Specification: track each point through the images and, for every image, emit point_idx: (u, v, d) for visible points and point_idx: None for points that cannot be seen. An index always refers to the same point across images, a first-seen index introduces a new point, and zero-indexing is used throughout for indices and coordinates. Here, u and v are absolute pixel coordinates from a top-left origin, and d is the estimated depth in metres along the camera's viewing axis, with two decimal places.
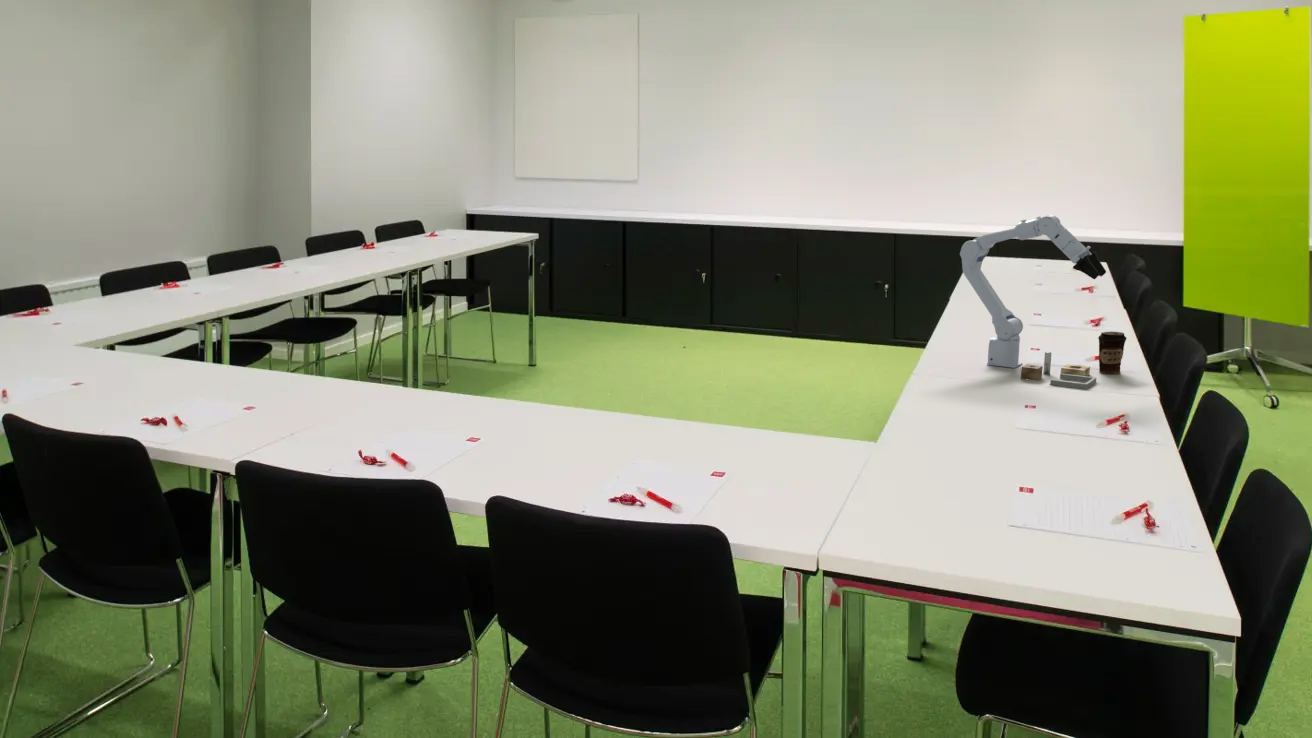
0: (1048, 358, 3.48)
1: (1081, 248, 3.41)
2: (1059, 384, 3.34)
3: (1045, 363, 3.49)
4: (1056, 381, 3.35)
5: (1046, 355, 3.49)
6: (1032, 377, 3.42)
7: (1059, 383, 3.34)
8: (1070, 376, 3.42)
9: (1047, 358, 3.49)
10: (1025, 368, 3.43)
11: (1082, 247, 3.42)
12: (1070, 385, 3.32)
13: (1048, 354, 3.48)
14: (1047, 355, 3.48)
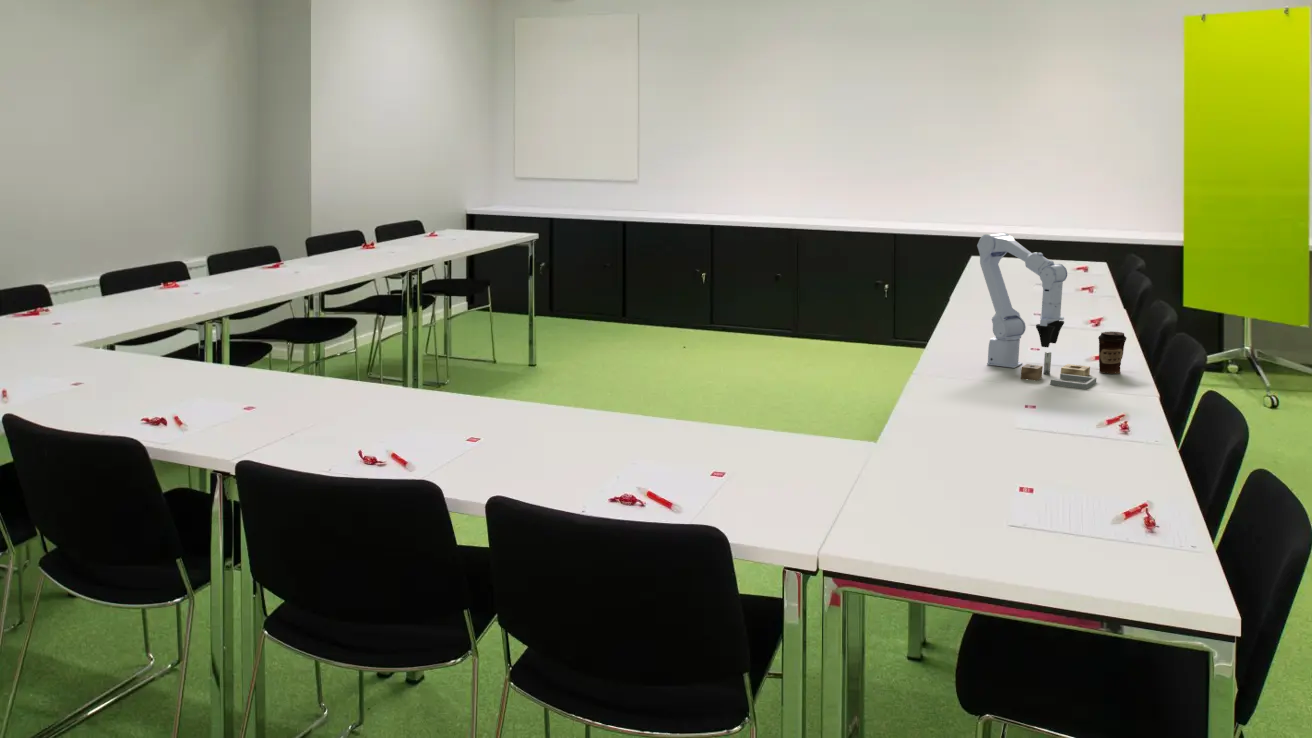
0: (1048, 358, 3.48)
1: (1056, 315, 3.44)
2: (1059, 384, 3.34)
3: (1045, 363, 3.49)
4: (1056, 381, 3.35)
5: (1046, 355, 3.49)
6: (1032, 377, 3.42)
7: (1059, 383, 3.34)
8: (1070, 376, 3.42)
9: (1047, 358, 3.49)
10: (1025, 368, 3.43)
11: (1058, 315, 3.44)
12: (1070, 385, 3.32)
13: (1048, 354, 3.48)
14: (1047, 355, 3.48)
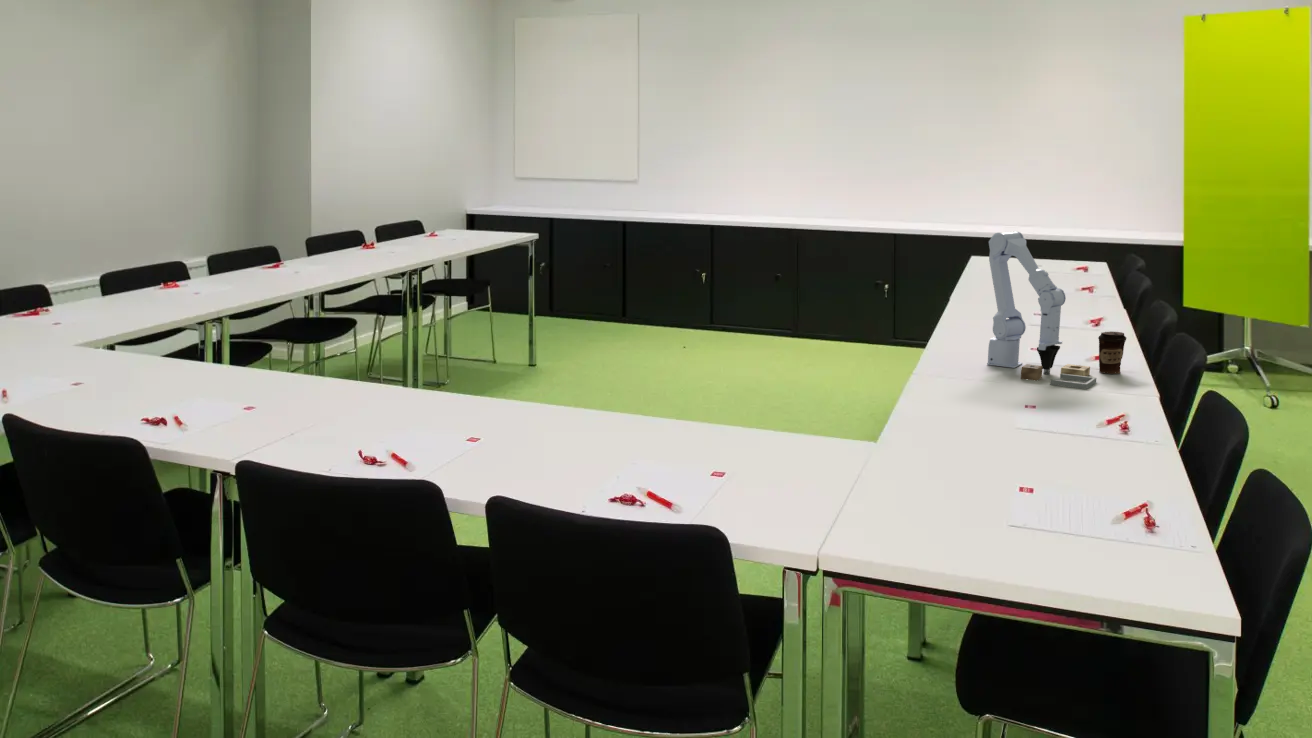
0: None
1: (1054, 339, 3.45)
2: (1059, 384, 3.34)
3: None
4: (1056, 381, 3.35)
5: None
6: (1032, 377, 3.42)
7: (1059, 383, 3.34)
8: (1070, 376, 3.42)
9: None
10: (1025, 368, 3.43)
11: (1056, 339, 3.46)
12: (1070, 385, 3.32)
13: None
14: None
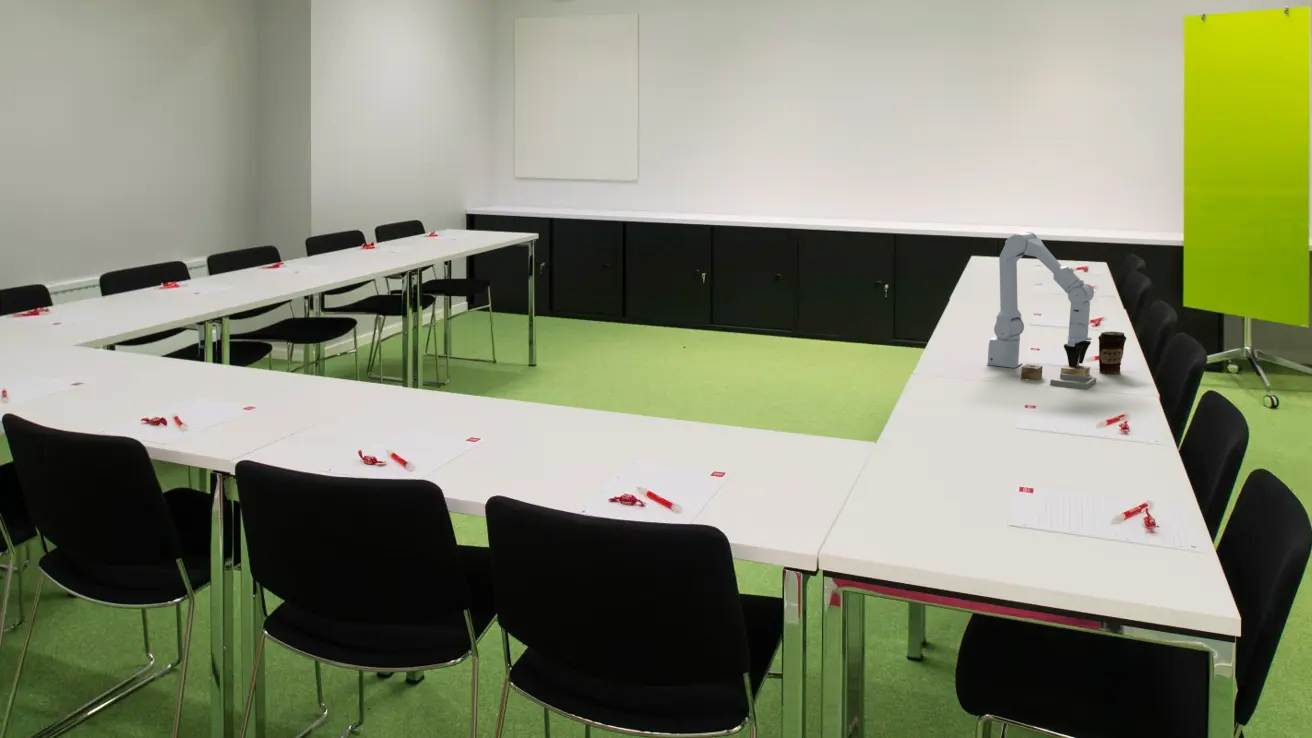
0: None
1: (1084, 335, 3.43)
2: (1059, 384, 3.34)
3: None
4: (1056, 381, 3.35)
5: None
6: (1032, 377, 3.42)
7: (1059, 383, 3.34)
8: (1070, 376, 3.42)
9: None
10: (1025, 368, 3.43)
11: (1085, 335, 3.43)
12: (1070, 385, 3.32)
13: None
14: None
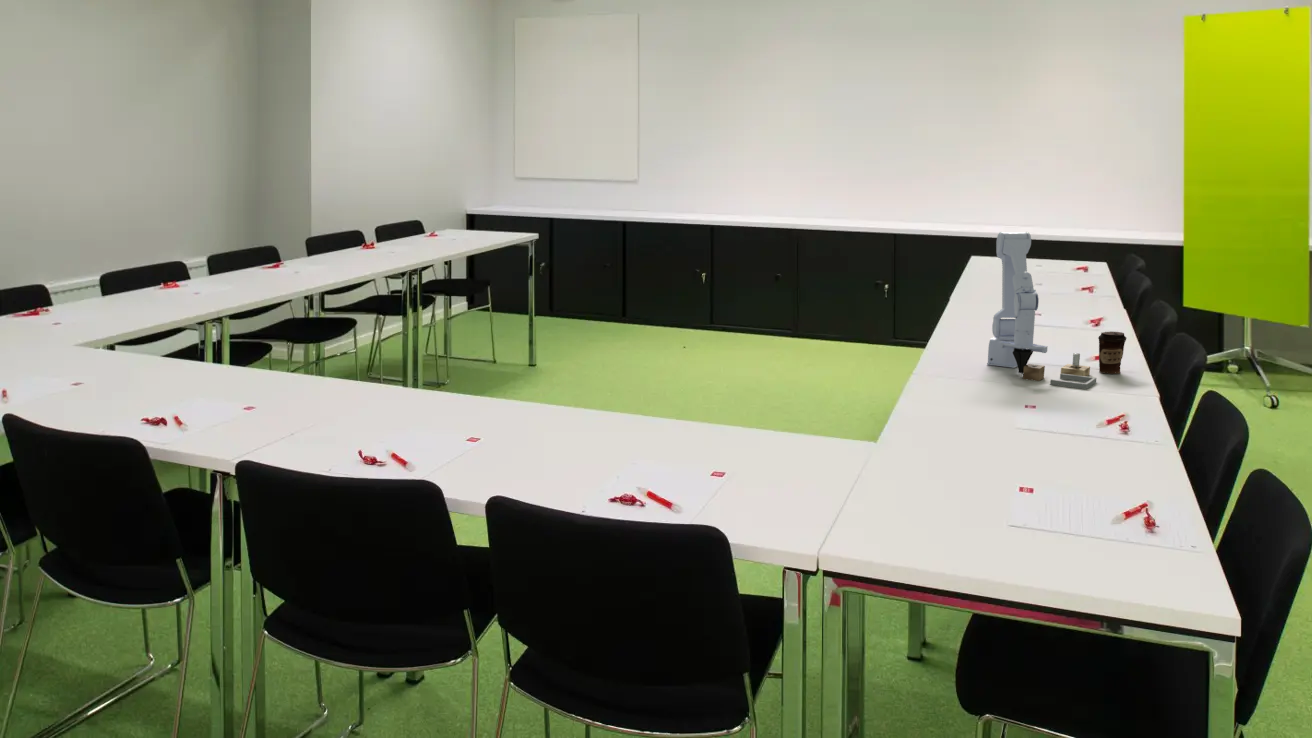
0: (1076, 359, 3.46)
1: (1015, 342, 3.43)
2: (1059, 384, 3.34)
3: (1073, 365, 3.47)
4: (1056, 381, 3.35)
5: (1075, 356, 3.46)
6: (1034, 377, 3.41)
7: (1059, 383, 3.34)
8: (1070, 376, 3.42)
9: (1075, 359, 3.46)
10: (1027, 368, 3.42)
11: (1017, 342, 3.43)
12: (1070, 385, 3.32)
13: (1077, 355, 3.46)
14: (1076, 356, 3.46)
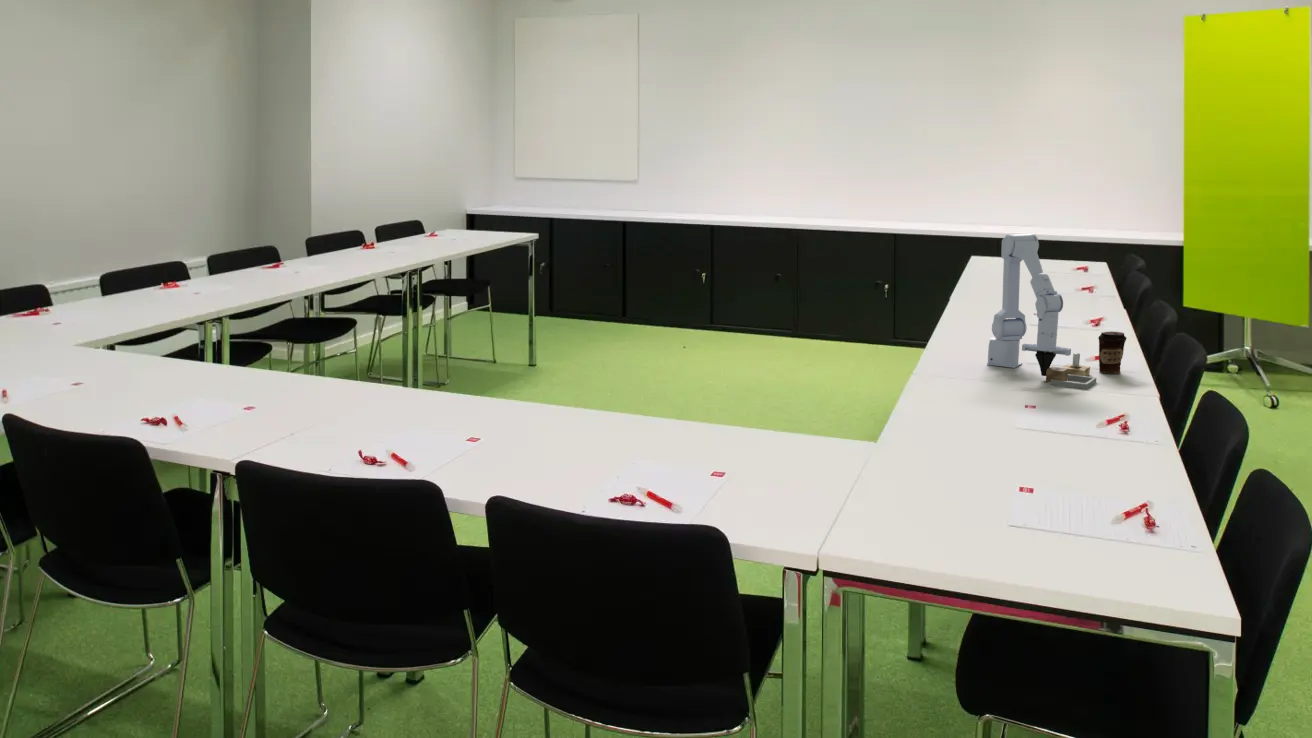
0: (1076, 359, 3.46)
1: (1038, 344, 3.39)
2: (1059, 384, 3.34)
3: (1073, 365, 3.47)
4: (1056, 381, 3.35)
5: (1075, 356, 3.46)
6: None
7: (1059, 383, 3.34)
8: (1070, 376, 3.42)
9: (1075, 359, 3.46)
10: (1050, 371, 3.38)
11: (1040, 344, 3.38)
12: (1070, 385, 3.32)
13: (1077, 355, 3.46)
14: (1076, 356, 3.46)
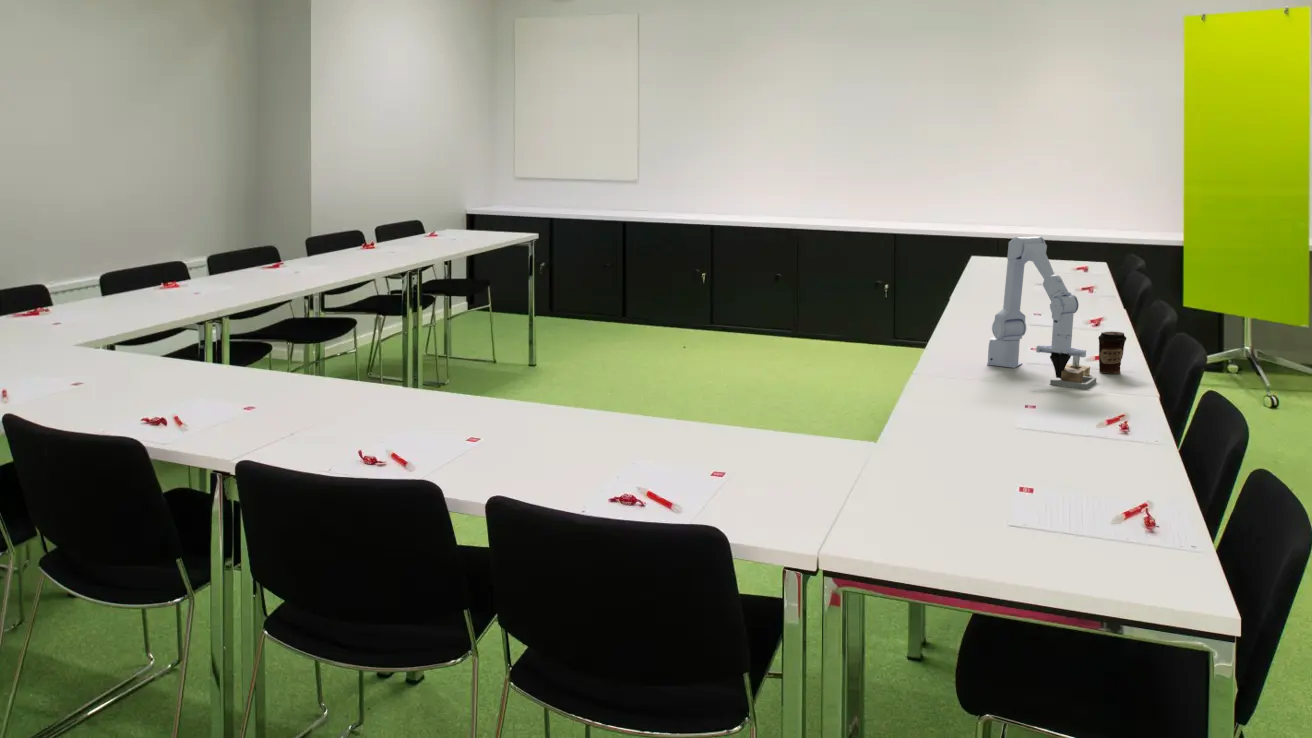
0: (1076, 359, 3.46)
1: (1053, 346, 3.36)
2: (1059, 384, 3.34)
3: (1073, 365, 3.47)
4: (1056, 381, 3.35)
5: (1075, 356, 3.46)
6: None
7: (1059, 383, 3.34)
8: None
9: (1075, 359, 3.46)
10: (1065, 372, 3.35)
11: (1055, 346, 3.36)
12: (1070, 385, 3.32)
13: None
14: (1076, 356, 3.46)
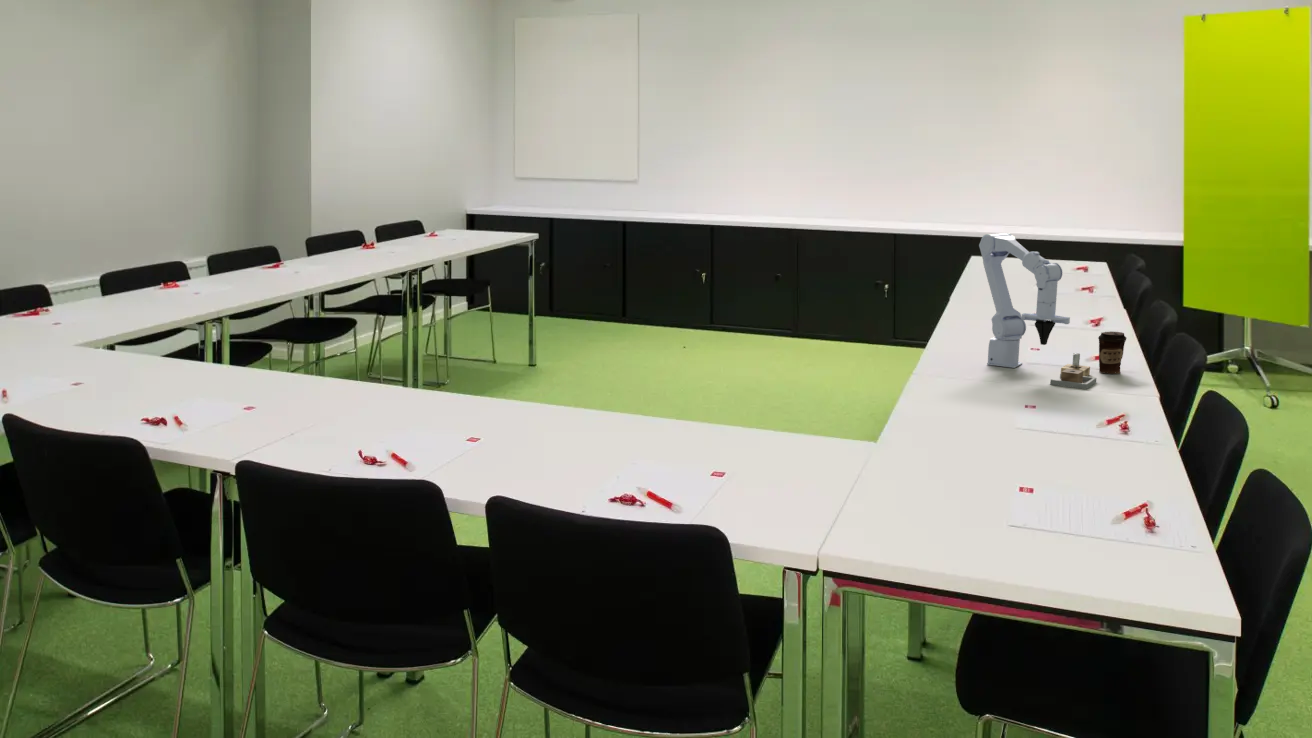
0: (1076, 359, 3.46)
1: (1038, 313, 3.44)
2: (1059, 384, 3.34)
3: (1073, 365, 3.47)
4: (1056, 381, 3.35)
5: (1075, 356, 3.46)
6: None
7: (1059, 383, 3.34)
8: None
9: (1075, 359, 3.46)
10: (1065, 373, 3.35)
11: (1039, 313, 3.44)
12: (1070, 385, 3.32)
13: (1077, 355, 3.46)
14: (1076, 356, 3.46)
